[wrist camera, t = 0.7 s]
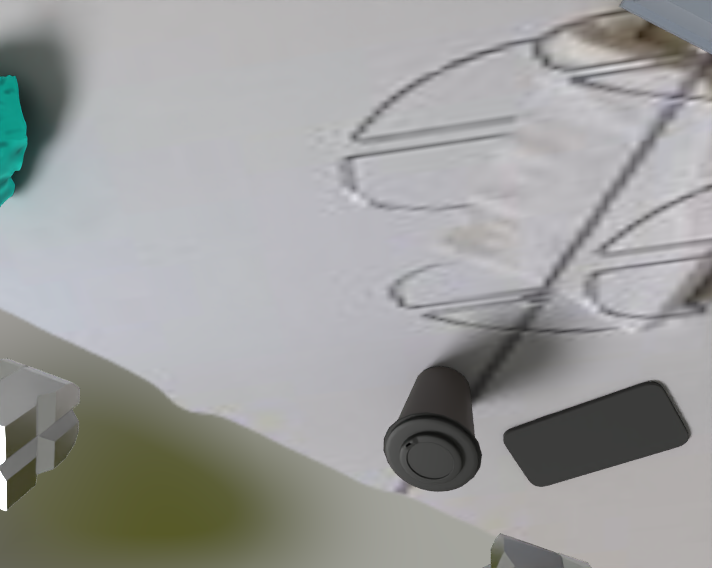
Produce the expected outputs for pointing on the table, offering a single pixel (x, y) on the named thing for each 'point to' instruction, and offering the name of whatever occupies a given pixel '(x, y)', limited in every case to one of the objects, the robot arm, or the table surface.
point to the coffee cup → (435, 433)
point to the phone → (597, 435)
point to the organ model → (10, 135)
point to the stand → (678, 18)
